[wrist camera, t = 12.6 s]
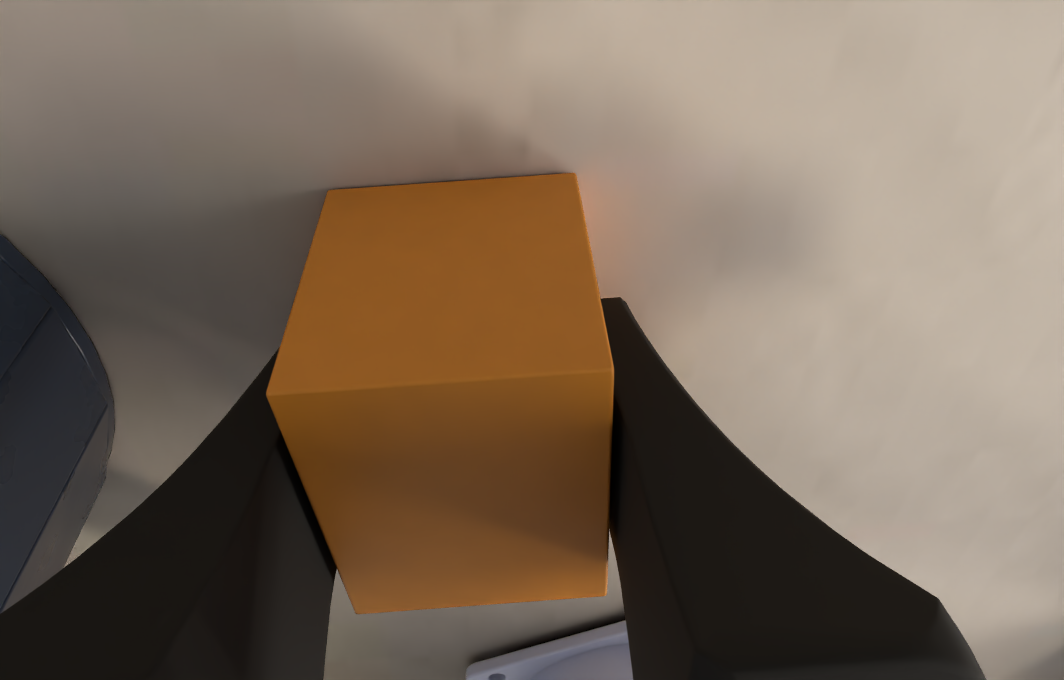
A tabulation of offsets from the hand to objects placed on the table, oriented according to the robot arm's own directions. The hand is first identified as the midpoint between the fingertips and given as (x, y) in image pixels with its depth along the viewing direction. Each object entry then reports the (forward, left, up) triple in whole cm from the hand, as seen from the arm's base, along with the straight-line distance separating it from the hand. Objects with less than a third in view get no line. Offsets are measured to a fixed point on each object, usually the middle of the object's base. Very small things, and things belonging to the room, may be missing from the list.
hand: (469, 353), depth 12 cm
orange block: (0, 0, -1) cm, 1 cm away
